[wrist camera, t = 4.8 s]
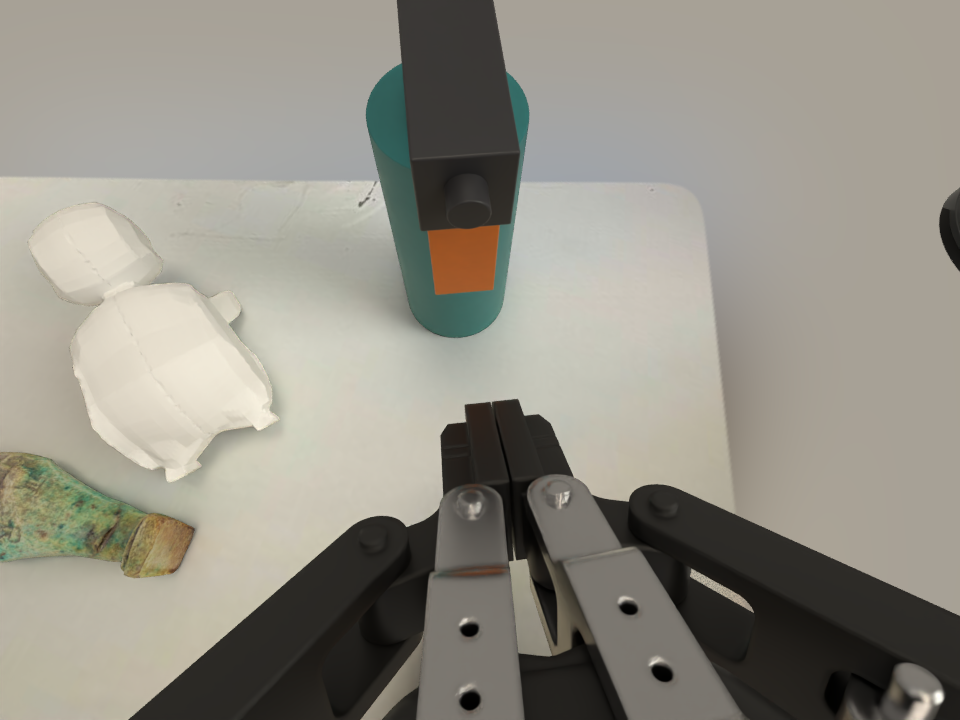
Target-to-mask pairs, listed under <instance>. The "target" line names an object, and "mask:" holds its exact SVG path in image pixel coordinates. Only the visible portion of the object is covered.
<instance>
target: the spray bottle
mask: <svg viewBox="0 0 960 720" xmlns="http://www.w3.org/2000/svg"><path fill="white" fill-rule="evenodd" d="M397 8H398V20H399V33H400V46H401V58H402V63H401V64H400V65H398V66H396V67H394V68H393V69H392V70H390V71H389V72H387V73H386V74H385V75H384V76H383V77H382V78H381V79H380V81H379V82H378V83H377V84H376V85H375V87H374V89H373V90H372V92H371V95H370V97H369V99H368V103H367V108H366V121H367V127H368V131H369V135H370V140H371V144H372V148H373V153H374V157H375V161H376V165H377V170H378V174H379V178H380V182H381V187H382V191H383V195H384V199H385V204H386V208H387V212H388V216H389V221H390V225H391V229H392V233H393V237H394V242H395V246H396V250H397V254H398V259H399V263H400V267H401V271H402V276H403V280H404V284H405V288H406V293H407V297H408V301H409V305H410V308H411V311H412V313H413V315H414V316H415V318H416V319H417V320H418V321H419V323H420V324H421V325H423V326H424V327H425V328H426V329H428V330H430V331H431V332H433V333H435V334H438V335H441V336H446V337H454V338H455V337H466V336H470V335H473V334H476V333H478V332H480V331H482V330H484V329H485V328H487V327H488V326H489V325H490V324H491V323H492V322H493V321H494V320H495V319H496V317H497V316H498V314H499V312H500V310H501V308H502V304H503V300H504V293H505V286H506V279H507V272H508V265H509V258H510V251H511V244H512V237H513V230H514V223H515V216H516V209H517V202H518V195H519V188H520V181H521V173H522V166H523V159H524V152H525V145H526V138H527V131H528V124H529V106H528V103H527V99H526V97H525V94H524V92H523V90H522V89H521V87H520V86H519V84H518V83H517V82H516V80H514V78H513V77H512V76H511V75H510V74H509V73H507V72H506V69H505V63H504V58H503V52H502V47H501V41H500V36H499V30H498V24H497V19H496V13H495V8H494V2H493V0H397ZM495 225H500V228H499V238H498V248H497V258H496V268H495V278H494V288H493V290H486V291H474V292H463V293H452V294H441V295H436V294H435V288H434V280H433V272H432V264H431V256H430V248H429V240H428V232H427V231H433V230H445V229H458V228H460V229H473V228H477V227H483V226H495Z"/></svg>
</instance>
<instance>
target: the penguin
mask: <svg viewBox="0 0 960 720" xmlns="http://www.w3.org/2000/svg"><path fill="white" fill-rule="evenodd" d="M28 245H29V248H30V251H31V253H32V256H33V258H34V261H35V263H36V265H37V267H38V269H39V271H40V272H41V274H42V275H43V276H44V277H45V278H46V279H47V280H48V281H49V283H50V284H51V285H52V287H53V289H54V291H55V292H56V293H57V295H58V297H59V298H61V299H63V300H65V301H68V302H71V303H74V304H78V305H85V306H96V305H99V306H97V307H96V308H95V309H94V310H93V311H92V312H91V313H90V315H89V316H88V317H87V318H86V319H85V321H84V322H83V323H82V324H81V325H80V327H79V328H78V329H77V331H76V333H75V335H74V338H73V340H72V342H71V345H70V348H69V349H70V352H71V357H72V361H73V364H74V366H73V367H72V368H73V369H74V374H75V377H76V378H77V379H78V380H79V384H80V387H81V390H82V394H83V397H84V400H85V404H86V408H87V412H88V415H89V418H90V421H91V425H92V428H93V429H94V430H95V431H96V432H97V433H98V434H99V435H100V437H101V439H103V440H105V441H106V443H107V444H108V445H110V446H113V447H114V448H115V449H116V450H117V451H118V452H120V453H122V454H123V455H125V456H126V457H127V458H129V459H130V460H132V461H133V462H135V463H137V464H138V465H140V466H142V467H145V468H148V469H149V470H156V469H159V468H165V471H166V472H165V476H166V479H167V482H170V483H172V482H174V481H176V480H178V479H180V478H181V477H183V476H185V475H188V474H190V473H192V472H193V471H195V470H197V469H199V468H200V467H201V464H200V463H199V461H197V459H198V457H199V456H200V455H201V453H202V452H203V451H204V449H205V448H206V447H207V446H208V445H209V443H210V441H211V440H212V439H213V438H214V437H215V436H216V435H217V434H219V433H220V432H222V431H225V430H231V429H239V428H245V427H251V426H253V427H255V428H256V429H257V430H258V431H260V430H261V429H263V428H266V427H268V426H270V425H272V424H274V423H275V422H277V421H278V420H280V418H279V417H278V416H277V415H276V414H274V413H273V412H271V411H270V406H271V404H272V386H271V383H270V382H269V381H270V380H269V379H268V375H267V374H266V371H265V370H264V369H263V365H262V364H261V363H260V361H259V359H258V358H257V357H256V354H254V353H252V352H251V351H250V350H249V349H248V348H247V347H246V345H245V344H243V343H242V342H241V341H240V339H239V338H238V337H237V335H236V334H235V332H234V331H233V330H232V328H231V327H230V326H229V324H230V322H232V321H233V320H234V319H235V318H236V317H238V316H239V314H240V311H241V305H240V303H239V302H238V300H237V299H236V297H235V295H234V294H233V292H232V291H223V292H221V293H218V294H217V295H214V296H213V297H210V298H207V297H206V296H205V295H203V294H201V293H199V292H198V291H197V290H196V289H194V288H193V287H192V285H190V284H185V283H163V284H152V285H149V284H150V283H151V282H152V281H153V280H154V279H155V278H156V277H157V276H158V275H159V274H160V273H161V271H162V266H163V261H164V260H163V259H162V258H161V257H160V256H158V255H157V253H156V252H155V251H154V249H153V247H152V245H151V242H150V240H149V239H148V238H147V236H146V235H145V234H144V232H143V231H142V230H141V229H140V228H139V227H137V226H136V225H135V224H134V223H133V222H132V221H131V220H130V219H129V218H127V217H126V216H124V215H122V214H120V213H119V212H117V211H115V210H113V209H112V208H110V207H108V206H105V205H103V204H100V203H97V202H92V203H85V204H78V205H74V206H71V207H68V208H65V209H62V210H59V211H57V212H56V213H54V214H52V215H51V216H49V217H47V218H46V219H45V220H43V221H42V222H41V223H40V224H39V225H38V226H37V227H36V228H35V229H34V230H33V235H32V237H31V238H30V239H29V240H28Z"/></svg>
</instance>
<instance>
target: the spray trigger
mask: <svg viewBox="0 0 960 720" xmlns="http://www.w3.org/2000/svg"><path fill="white" fill-rule="evenodd" d="M499 228H500V225H495V226H483V227H477V228H473V229H460V228H458V229H445V230H433V231H427V232H428V240H429V248H430V256H431V264H432V272H433V280H434V288H435V294H436V295H441V294H452V293H463V292H474V291H486V290H493V288H494V278H495V268H496V258H497V248H498V238H499Z"/></svg>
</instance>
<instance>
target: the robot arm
mask: <svg viewBox="0 0 960 720" xmlns="http://www.w3.org/2000/svg"><path fill="white" fill-rule="evenodd" d="M465 417H466V422H464V423H455V424H447V426H446V428H445V429H444V431H443V432H442V434H441V456H442V477H443V498H442V500H441V502H440V506H439V509H438V510H437V511H436V512H435V513H434V514H433V515H432V516H430V517H429V518H427V519H426V520H424V521H422V522H419V523H417V524H414V525H411V526H409V527H406V526H405V525H404V524H403V523H402V522H401V521H400V520H398V519H396V518H393V517H389V516H375V517H370V518H367V519H364V520H362V521H360V522H358V523H356V524H354V525H353V526H352V527H350V528H349V529H348V530H347V531H346V532H345V533H343V534H342V535H341V536H340V537H339V538H338V539H336V540H335V541H334V542H333V543H332V544H331V545H330V546H328V547H327V548H326V549H325V550H324V551H323V552H321V553H320V554H319V555H318V556H317V557H316V558H315V559H313V560H312V561H311V562H310V563H309V564H308V565H306V566H305V567H304V568H303V569H302V570H301V571H300V572H298V573H297V574H296V575H295V576H294V577H293V578H291V579H290V580H289V581H288V582H287V583H286V584H285V585H283V586H282V587H281V588H280V589H279V590H278V591H276V592H275V593H274V594H273V595H272V596H271V597H270V598H268V599H267V600H266V601H265V602H264V603H263V604H261V605H260V606H259V607H258V608H257V609H256V610H255V611H253V612H252V613H251V614H250V615H249V616H248V617H246V618H245V619H244V620H243V621H242V622H241V623H240V624H238V625H237V626H236V627H235V628H234V629H233V630H231V631H230V632H229V633H228V634H227V635H226V636H224V637H223V638H222V639H221V640H220V641H219V642H218V643H216V644H215V645H214V646H213V647H212V648H211V649H209V650H208V651H207V652H206V653H205V654H204V655H203V656H201V657H200V658H199V659H198V660H197V661H196V662H194V663H193V664H192V665H191V666H190V667H189V668H188V669H186V670H185V671H184V672H183V673H182V674H181V675H179V676H178V677H177V678H176V679H175V680H174V681H173V682H171V683H170V684H169V685H168V686H167V687H166V688H164V689H163V690H162V691H161V692H160V693H159V694H158V695H156V696H155V697H154V698H153V699H152V700H151V701H149V702H148V703H147V704H146V705H145V706H144V707H143V708H141V709H140V710H139V711H138V712H137V713H136V714H134V715H133V716H132V717H131V718H130V719H129V720H360V719H361V718H362V717H363V716H364V714H365V713H366V712H367V710H368V709H369V708H370V707H371V705H372V704H373V703H374V701H375V700H376V699H377V697H378V696H379V695H380V694H381V692H382V691H383V690H384V688H385V687H386V686H387V685H388V683H389V682H390V681H391V679H392V678H393V677H394V676H395V674H396V673H397V672H398V670H399V669H400V668H401V667H402V665H403V664H404V663H405V661H406V660H407V659H408V658H409V656H410V655H411V654H412V652H413V651H414V650H415V648H416V647H417V646H418V644H419V643H420V640H421V638H422V635H423V631H424V636H423V648H422V659H421V671H420V682H419V687H418V688H416V689H415V690H413V691H412V692H411V693H409V694H408V695H407V696H405V697H404V698H403V699H402V700H401V701H400V702H398V703H397V704H396V705H395V706H394V707H393V708H392V709H391V710H390V711H389V712H388V714H387V715H386V716H385V717H384V718H383V719H382V720H960V616H959V615H956V614H954V613H952V612H950V611H947V610H945V609H943V608H941V607H939V606H937V605H934V604H932V603H930V602H928V601H925V600H923V599H921V598H919V597H916V596H914V595H912V594H910V593H908V592H905V591H903V590H901V589H899V588H897V587H894V586H892V585H890V584H888V583H885V582H883V581H881V580H879V579H876V578H874V577H872V576H870V575H868V574H865V573H863V572H861V571H859V570H857V569H854V568H852V567H850V566H848V565H846V564H843V563H841V562H839V561H837V560H834V559H832V558H830V557H828V556H826V555H823V554H821V553H819V552H817V551H814V550H812V549H810V548H808V547H806V546H803V545H801V544H799V543H797V542H794V541H792V540H790V539H788V538H786V537H783V536H781V535H779V534H777V533H774V532H772V531H770V530H768V529H766V528H764V527H761V526H759V525H757V524H755V523H752V522H750V521H748V520H745V519H743V518H741V517H739V516H737V515H735V514H732V513H730V512H728V511H726V510H724V509H721V508H719V507H717V506H715V505H713V504H710V503H708V502H706V501H704V500H701V499H699V498H697V497H695V496H693V495H690V494H688V493H686V492H684V491H681V490H679V489H677V488H674V487H671V486H666V485H658V484H654V485H646V486H642V487H640V488H638V489H636V490H635V491H634V492H633V493H632V494H631V496H630V499H629V502H626V501H617V500H609V499H603V498H599V497H596V496H594V495H592V494H591V493H590V491H589V489H588V488H587V486H586V485H585V484H584V483H583V482H581V481H580V480H578V479H576V478H574V477H573V474H572V472H571V470H570V467H569V465H568V463H567V460H566V458H565V456H564V454H563V451H562V449H561V447H560V446H559V442H558V440H557V437H555V433H554V431H553V428H552V426H551V424H550V423H549V422H548V421H547V420H545V419H544V418H543V417H542V416H540V415H539V414H537V415H528V416H524V414H523V411H522V409H521V406H520V403H519V400H518V399H513V400H504V401H494V402H492V407H491V403H490V402H486V403H476V404H467V405H465ZM513 547H514V552H515V556H516V560H522V559H527V561H528V565H529V572H530V588H531V592H532V595H533V598H534V601H535V604H536V607H537V610H538V613H539V616H540V620H541V623H542V626H543V629H544V632H545V635H546V638H547V641H548V644H549V647H550V650H551V653H552V656H550V657H546V656H536V655H527V654H518V647H517V636H516V626H515V616H514V606H513V596H512V585H511V575H510V567H509V561H514V560H513ZM691 568H692V569H694V570H695V571H697V572H699V573H701V574H703V575H704V576H706V577H708V578H710V579H712V580H714V581H715V582H717V583H719V584H721V585H723V586H724V587H726V588H728V589H730V590H732V591H733V592H735V593H737V594H739V595H740V596H741V597H743V598H744V599H745V600H746V601H747V602H748V603H749V604H750V606H751V607H752V609H753V611H754V613H753V612H751V611H749V610H747V609H746V608H744V607H742V606H740V605H739V604H737V603H735V602H733V601H731V600H730V599H728V598H726V597H724V596H723V595H721V594H719V593H717V592H716V591H714V590H712V589H710V588H708V587H707V586H705V585H703V584H701V583H700V582H698V581H696V580H694V579H693V578H691V577H690V573H691Z"/></svg>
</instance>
